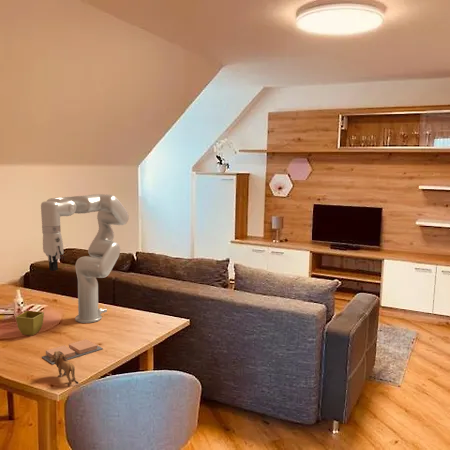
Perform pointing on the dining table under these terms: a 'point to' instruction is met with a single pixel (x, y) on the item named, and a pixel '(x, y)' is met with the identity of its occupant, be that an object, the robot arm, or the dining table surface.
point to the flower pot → (30, 322)
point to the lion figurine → (63, 365)
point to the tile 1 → (63, 349)
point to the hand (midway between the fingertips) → (53, 270)
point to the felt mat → (72, 356)
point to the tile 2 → (83, 346)
